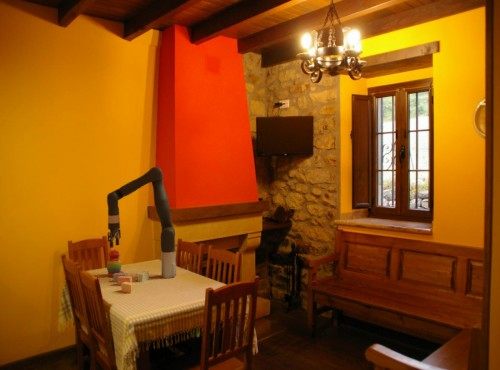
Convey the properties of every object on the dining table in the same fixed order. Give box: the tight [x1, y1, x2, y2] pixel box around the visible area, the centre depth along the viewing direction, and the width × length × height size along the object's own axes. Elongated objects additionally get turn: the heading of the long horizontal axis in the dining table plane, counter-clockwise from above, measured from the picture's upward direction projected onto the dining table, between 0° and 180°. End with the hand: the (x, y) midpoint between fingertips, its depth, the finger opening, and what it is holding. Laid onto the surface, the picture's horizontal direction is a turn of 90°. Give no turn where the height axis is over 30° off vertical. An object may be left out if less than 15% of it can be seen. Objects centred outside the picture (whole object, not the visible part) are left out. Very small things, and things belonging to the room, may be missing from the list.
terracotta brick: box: [117, 275, 133, 286], centre depth 256 cm, size 8×4×5 cm, turn 84°
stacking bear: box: [106, 248, 125, 278], centre depth 278 cm, size 11×10×18 cm
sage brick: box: [137, 270, 150, 283], centre depth 266 cm, size 8×4×5 cm, turn 165°
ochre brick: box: [120, 282, 136, 294], centre depth 241 cm, size 8×4×5 cm, turn 60°
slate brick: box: [112, 272, 128, 283], centre depth 263 cm, size 8×4×5 cm, turn 84°
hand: (114, 246), depth 267 cm, fingers open, 8 cm apart
